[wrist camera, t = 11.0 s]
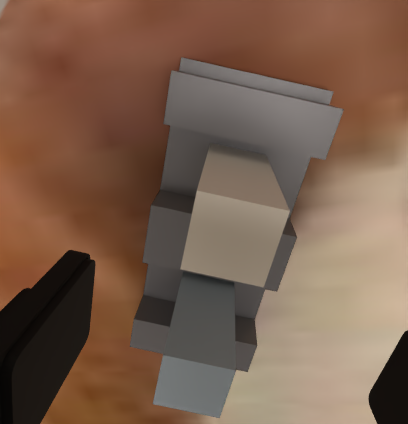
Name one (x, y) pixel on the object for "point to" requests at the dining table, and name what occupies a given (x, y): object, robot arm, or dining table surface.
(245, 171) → the cream plug
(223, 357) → the slate plug
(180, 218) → the grey blocky pieces
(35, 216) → the dining table surface
